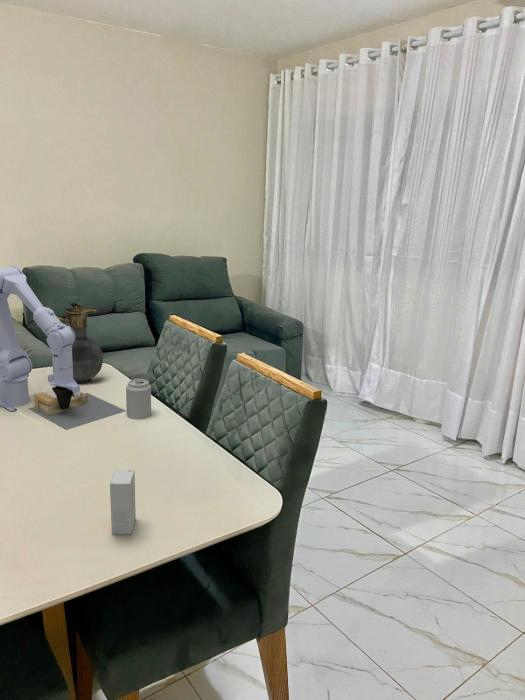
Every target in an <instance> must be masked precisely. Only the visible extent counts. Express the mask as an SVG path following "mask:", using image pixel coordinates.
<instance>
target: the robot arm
mask: <svg viewBox="0 0 525 700" xmlns="http://www.w3.org/2000/svg"><path fill="white" fill-rule="evenodd" d="M10 295H16V297H17V298H19V300H20V301H21V302H22V303H23V304H24V305H25V306H26V308H28V309H29V310H30V311H31V312H32V314H33V315H32V316H33V319H32V320H33V321H34V323H36V324H37V326H38V327H39V328H40V329H41V330H42V332H43V333H44V334H45V336H46V339H45V340H46V343H47V345H48V347H49V349H50V351H49V352H50V353H51V359H52V363H51V364H53V365H52V374H49V375H47V381H48V383H49V385H50V386H52V387H51V390H52V391H53V393H54V394H55V396H56V397H57V399H58V402H59V405H60V408H61V409H62V410H65V409H68V408H69V406H70V401H71V398H72V395H73V393H77V392H81V385H80V384H77V383H76V382H75V380H74V379H73V362H72V344H73V343H74V341H75V333H74V331H73V329H72V328H71V326H69V325H66V323H62V322H61V321H60V320H59V319H58V318H57V317H58V316H57V315H56V314H55V312H54V310H53V309H51V308H50V307H46V306H44V305H43V304H42V302H41V301H40V300H39V298H38V296H36V294H35V293H34V291H33V289H32V288H31V287H30V285H29V284H28V283H27V276H26V275H25V274H24V273H23V270H22V269H21V268H20V267H18V266H15V265H13V266H10V267H4V268H3V267H1V268H0V406H1V407H3V408H4V409H6V410H8V411H10V412H14V411H18V409H17V407H18V408H19V407H22V406H23V407H25V405H26V406H27V405H28V404H30V396H29V381H28V378H29V377H30V373H31V372H32V371H33V363H32V361H31V359H30V358H29V355H28V353H27V351H26V350H24V349H22V348H20V345H19V341H18V337H17V333H16V329H15V325H14V321H13V318H12V317H13V316H12V313H11V310H10V305H9V302H8V298H9V297H10ZM47 337H48V338H47ZM68 345H69V346H68Z"/></svg>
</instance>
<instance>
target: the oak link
mask: <svg viewBox="0 0 525 700" xmlns="http://www.w3.org/2000/svg"><path fill="white" fill-rule="evenodd" d="M55 398H56V399H57V396H56V397H55ZM85 404H88V395H86V394H84V392H81V391H80V396H79V397H74V393H73V395H72V398H71V401H70V406H69V408H68V409H65V410H62V409H61V408H60V405H59V402H58V403H56V404H52V405H49V406H48V405H47V404H45V403H43V402H39V409H40V412H42V413H44V414H46V415H48V416H50V415H53V414H56V413H59V412H63V411H66V410H69V409H72V408H76V407H79V406H82V405H85Z"/></svg>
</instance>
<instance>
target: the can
mask: <svg viewBox="0 0 525 700" xmlns="http://www.w3.org/2000/svg"><path fill="white" fill-rule="evenodd" d="M125 396H126V398H125V399H126V400H125V402H126V404H125V405H126V416H127V418H129V419H131V420H145V419H148V418H150V417H151V416H152V386H151V384H150V381H149V380H148V379H144V378H134V379H130V380H129V381H128V382H127V385H126V386H125Z"/></svg>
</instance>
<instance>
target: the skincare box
mask: <svg viewBox="0 0 525 700" xmlns="http://www.w3.org/2000/svg"><path fill="white" fill-rule="evenodd" d="M135 474H136V472H135V469H134V468H133V469H127V468H125V469H121V468H120V469H114V471H113V474H112V477H111V480H110V482H109V483H110V484H109V495H110V497H109V498H110V520H111V521H110V522H111V524H110V525H111V535H132V534H133V531H134V526H135V522H136V517H137V515H136V511H137V510H136V485H135V484H136V483H135V482H136V480H135V479H136V476H135Z"/></svg>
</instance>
